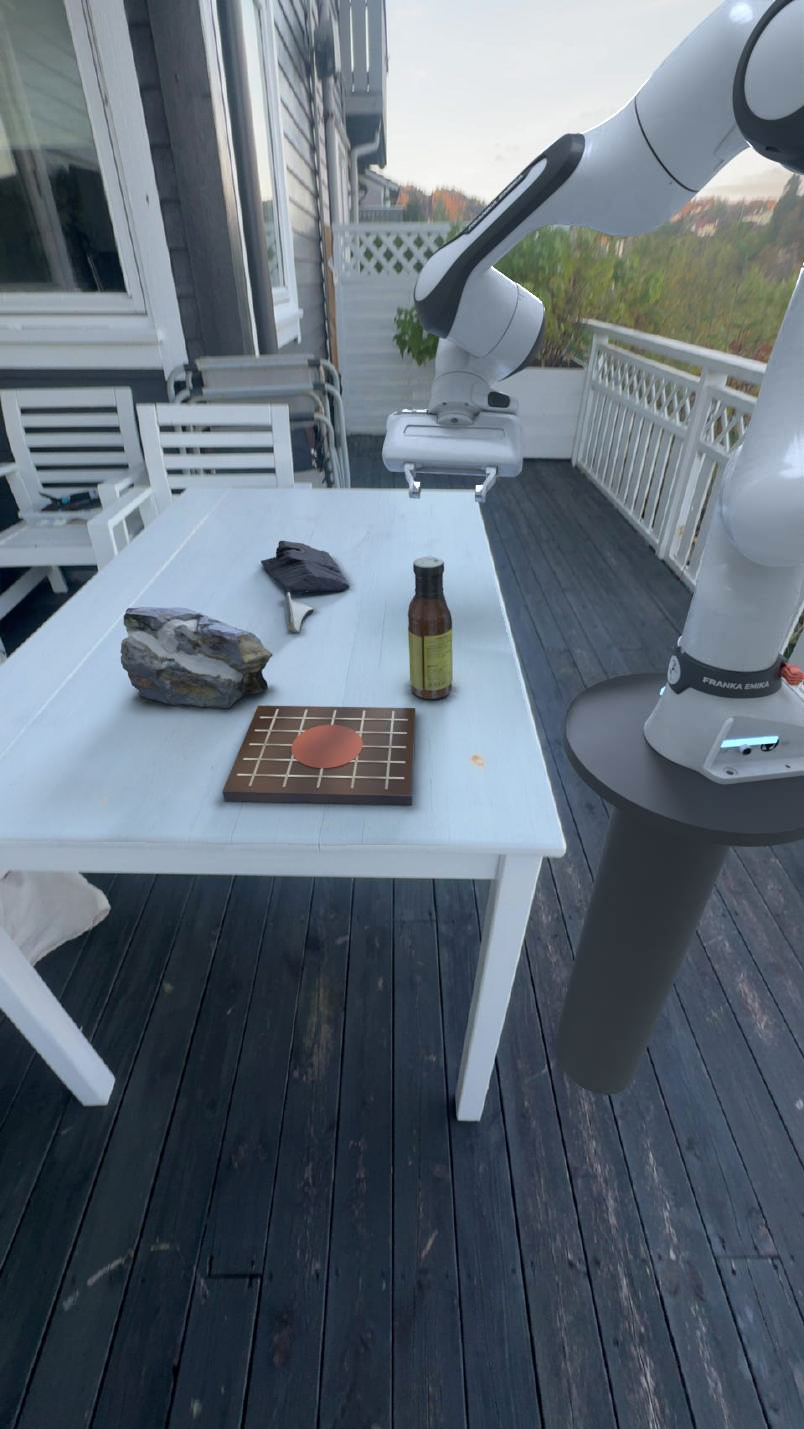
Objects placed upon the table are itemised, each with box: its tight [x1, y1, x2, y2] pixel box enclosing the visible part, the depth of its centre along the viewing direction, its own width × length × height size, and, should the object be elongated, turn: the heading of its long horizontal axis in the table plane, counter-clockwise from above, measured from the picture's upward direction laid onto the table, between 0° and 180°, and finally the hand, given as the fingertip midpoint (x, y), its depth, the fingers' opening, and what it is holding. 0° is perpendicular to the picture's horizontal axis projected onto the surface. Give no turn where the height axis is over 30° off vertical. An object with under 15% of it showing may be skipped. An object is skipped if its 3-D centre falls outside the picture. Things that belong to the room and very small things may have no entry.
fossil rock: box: [120, 606, 273, 709], centre depth 89 cm, size 20×9×15 cm, turn 76°
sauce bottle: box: [407, 556, 454, 700], centre depth 87 cm, size 7×6×20 cm
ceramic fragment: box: [283, 591, 314, 634], centre depth 113 cm, size 14×5×4 cm, turn 11°
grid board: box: [222, 704, 416, 806], centre depth 80 cm, size 22×18×2 cm
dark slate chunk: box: [260, 540, 351, 594], centre depth 128 cm, size 15×22×5 cm
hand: (446, 498), depth 89 cm, fingers open, 8 cm apart
